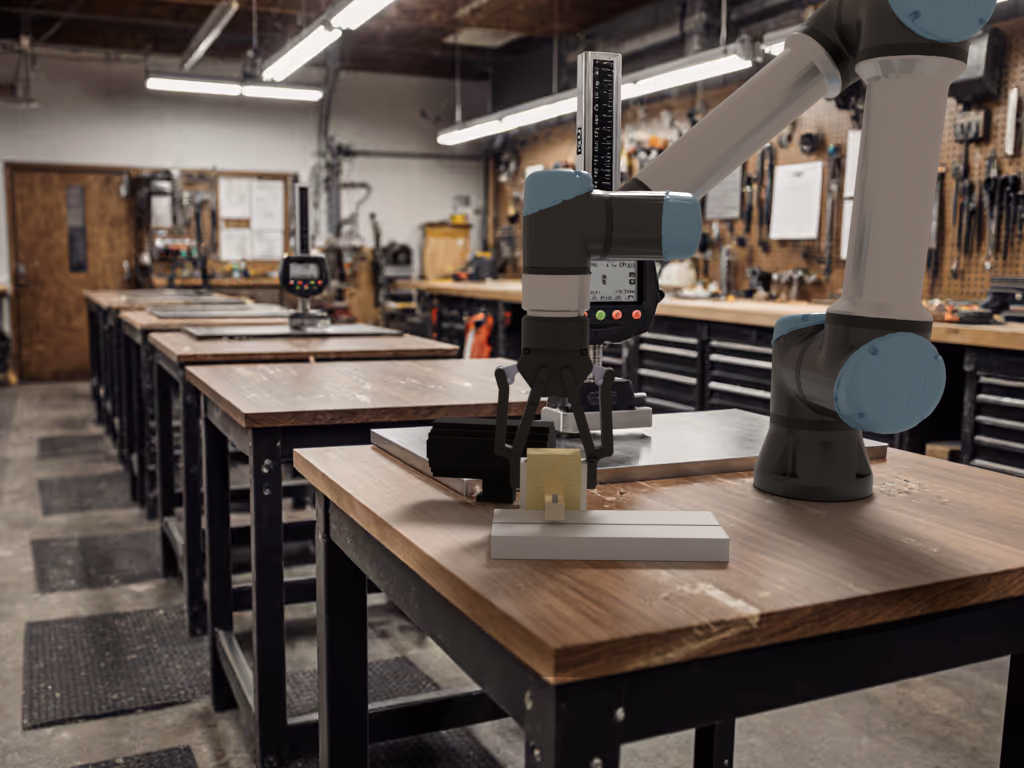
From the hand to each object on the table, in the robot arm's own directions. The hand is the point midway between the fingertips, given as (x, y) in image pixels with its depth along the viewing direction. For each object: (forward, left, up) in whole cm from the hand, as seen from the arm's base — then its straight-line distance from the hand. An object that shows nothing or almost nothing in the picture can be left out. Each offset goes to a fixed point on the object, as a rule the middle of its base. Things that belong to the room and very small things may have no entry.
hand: (552, 515), depth 108 cm
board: (-5, +7, -1) cm, 9 cm away
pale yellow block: (0, +4, 0) cm, 4 cm away
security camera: (+6, -10, -1) cm, 12 cm away
